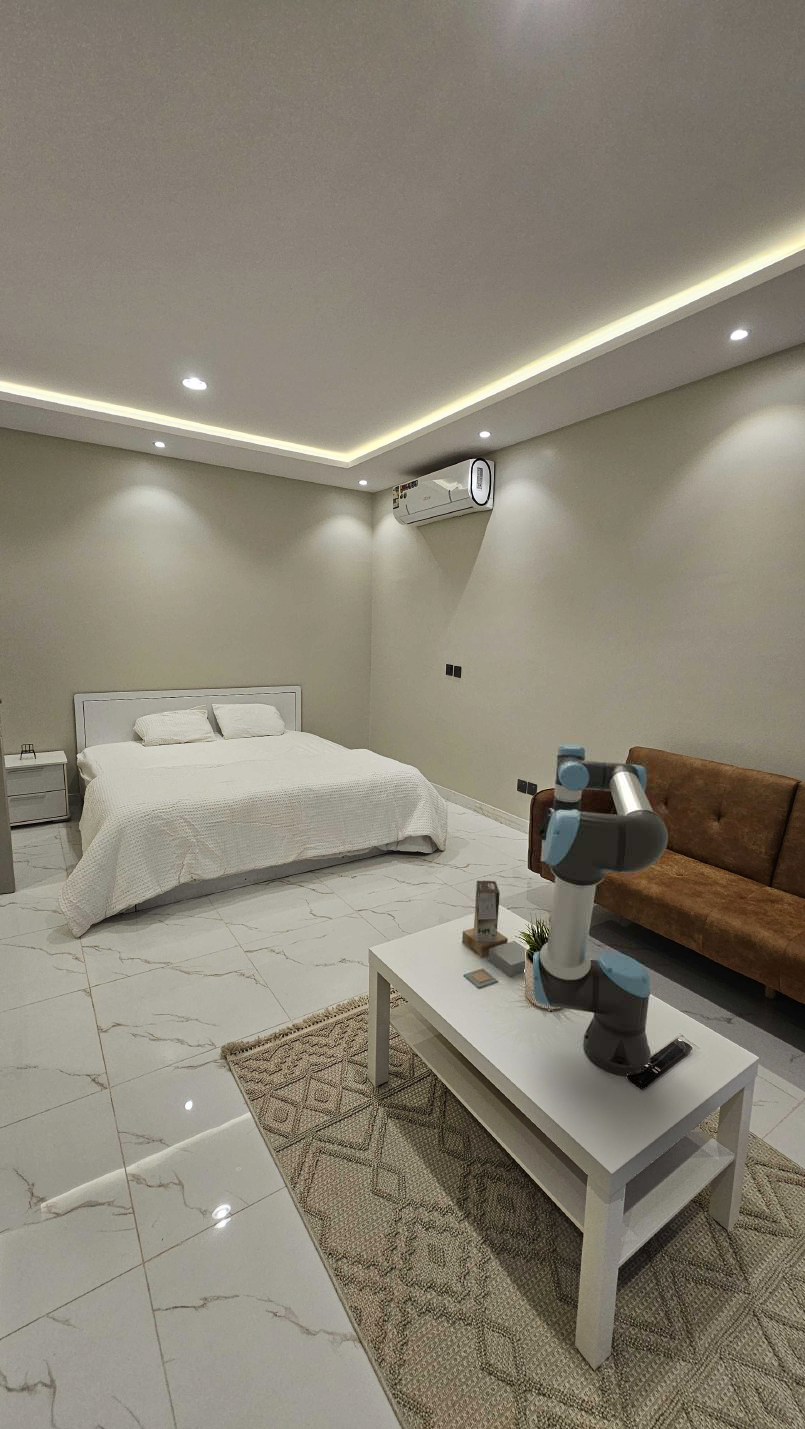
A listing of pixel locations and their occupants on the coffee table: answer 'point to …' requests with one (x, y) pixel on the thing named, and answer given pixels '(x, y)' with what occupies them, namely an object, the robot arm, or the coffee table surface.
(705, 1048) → the coffee table surface
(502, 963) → the grey square block
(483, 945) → the walnut block
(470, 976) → the square coaster
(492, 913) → the coffee box
